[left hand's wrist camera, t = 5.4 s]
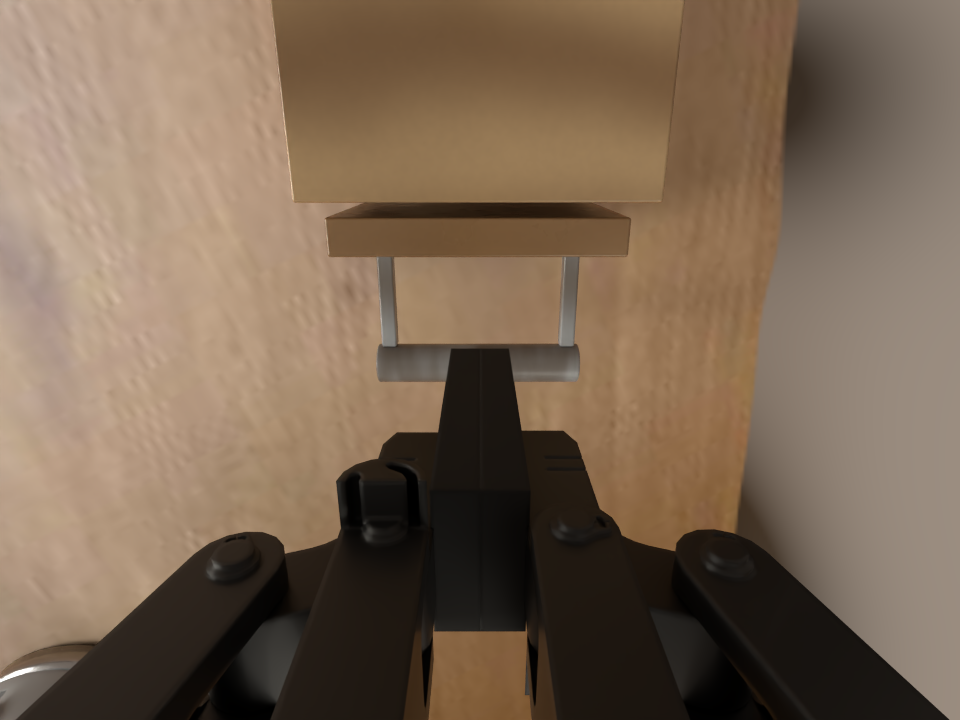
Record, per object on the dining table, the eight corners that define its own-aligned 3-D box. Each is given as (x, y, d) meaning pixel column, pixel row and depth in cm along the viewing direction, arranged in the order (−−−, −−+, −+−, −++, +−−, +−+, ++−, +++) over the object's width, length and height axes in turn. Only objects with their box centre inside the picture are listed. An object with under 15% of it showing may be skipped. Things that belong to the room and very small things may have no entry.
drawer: (573, 351, 27) (612, 430, 19) (383, 351, 27) (343, 430, 19) (609, -240, 19) (699, -510, 12) (345, -240, 19) (254, -511, 12)
